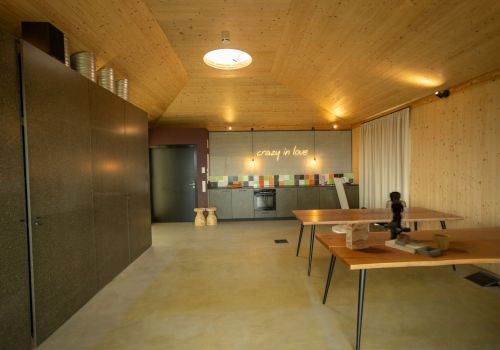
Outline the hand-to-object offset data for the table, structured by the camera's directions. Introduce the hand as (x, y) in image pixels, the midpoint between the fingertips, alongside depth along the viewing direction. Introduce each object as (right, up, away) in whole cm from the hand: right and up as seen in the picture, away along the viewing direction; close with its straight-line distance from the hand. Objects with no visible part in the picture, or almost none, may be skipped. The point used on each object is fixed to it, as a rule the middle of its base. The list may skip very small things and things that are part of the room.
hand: (396, 238), depth 200 cm
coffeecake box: (-33, -5, -6) cm, 34 cm away
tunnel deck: (+6, -5, -11) cm, 13 cm away
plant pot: (+27, -5, -11) cm, 29 cm away
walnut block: (+2, -2, -5) cm, 6 cm away
